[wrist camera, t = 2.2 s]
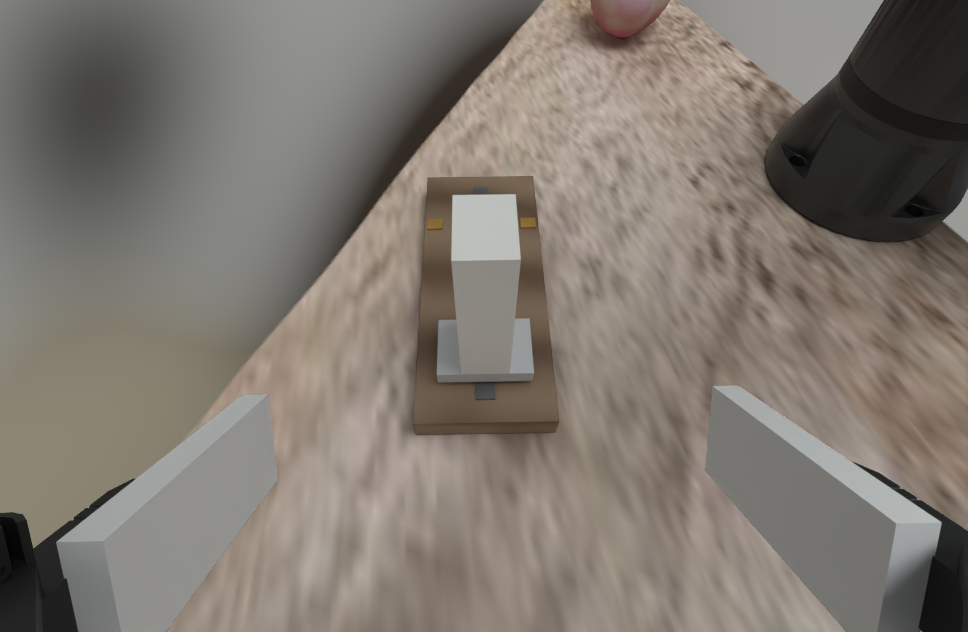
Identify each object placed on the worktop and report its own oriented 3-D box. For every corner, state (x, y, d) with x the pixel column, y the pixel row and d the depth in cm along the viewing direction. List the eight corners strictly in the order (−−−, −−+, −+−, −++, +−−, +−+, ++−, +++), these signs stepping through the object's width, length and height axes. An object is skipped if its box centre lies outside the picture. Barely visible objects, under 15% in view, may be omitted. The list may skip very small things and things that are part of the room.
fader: (532, 380, 32) (555, 259, 22) (438, 382, 32) (416, 261, 22) (528, 327, 34) (547, 193, 24) (439, 328, 34) (420, 195, 24)
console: (555, 432, 33) (559, 419, 31) (416, 435, 32) (412, 422, 31) (531, 193, 44) (533, 174, 43) (429, 195, 44) (427, 175, 43)
